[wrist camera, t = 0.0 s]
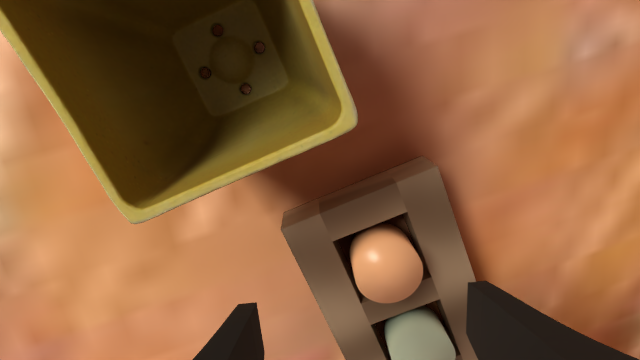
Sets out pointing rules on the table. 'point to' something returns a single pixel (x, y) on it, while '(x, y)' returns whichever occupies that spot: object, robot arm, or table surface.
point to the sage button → (418, 336)
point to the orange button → (385, 263)
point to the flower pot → (181, 89)
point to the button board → (367, 210)
